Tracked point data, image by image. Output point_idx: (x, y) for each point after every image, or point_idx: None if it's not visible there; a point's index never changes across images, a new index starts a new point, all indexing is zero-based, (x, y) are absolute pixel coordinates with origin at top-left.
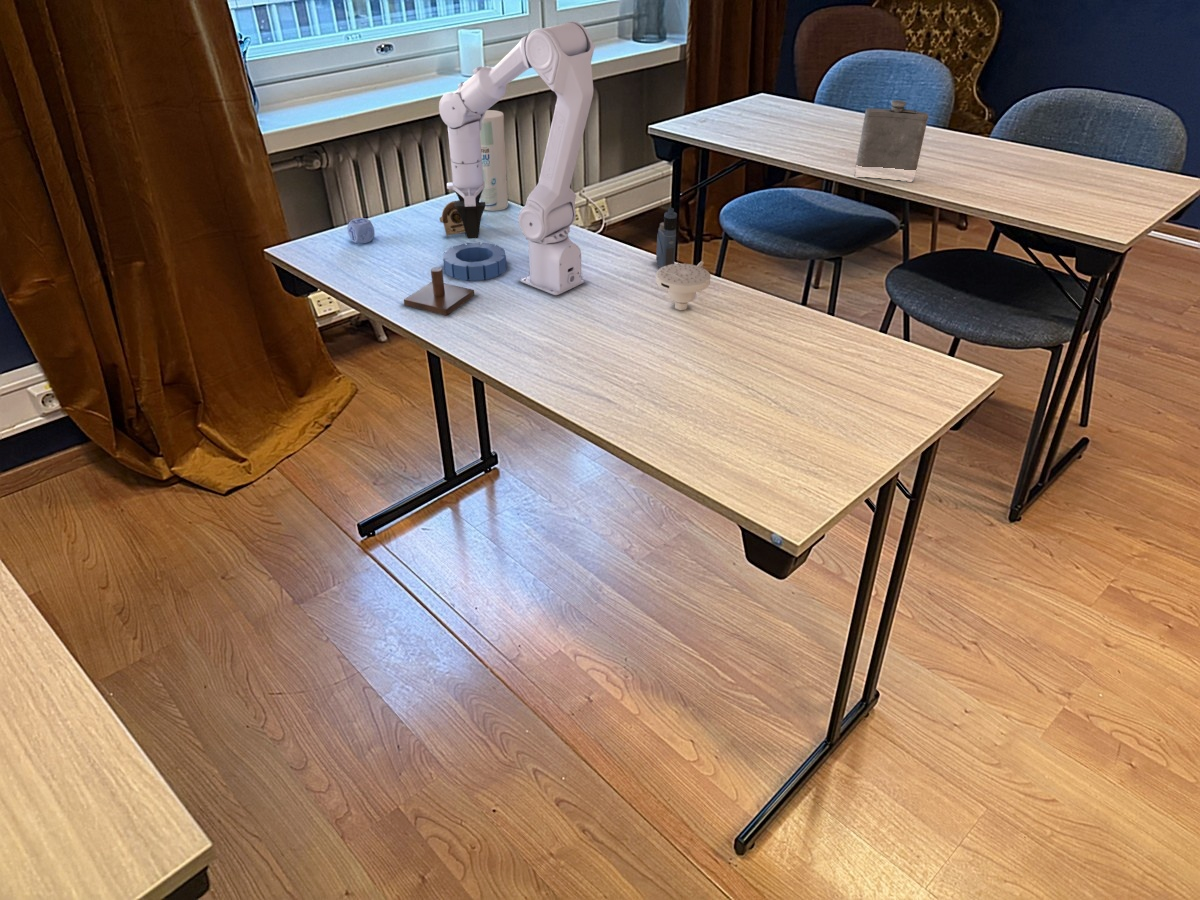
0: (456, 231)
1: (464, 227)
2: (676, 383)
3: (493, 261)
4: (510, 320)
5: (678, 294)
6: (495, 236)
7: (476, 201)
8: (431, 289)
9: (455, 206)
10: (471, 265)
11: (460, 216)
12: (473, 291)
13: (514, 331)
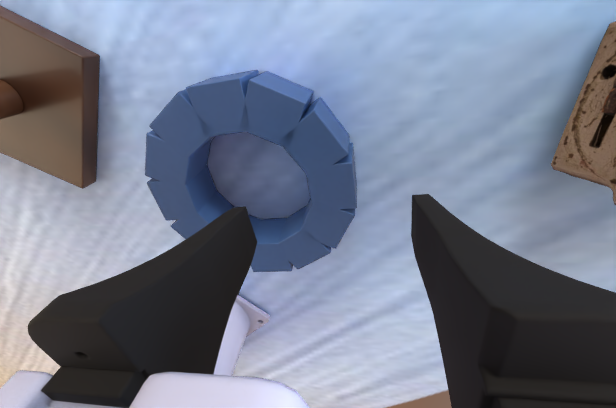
0: (592, 83)
1: (196, 233)
2: (10, 373)
3: None
4: (35, 247)
5: None
6: (526, 219)
7: (441, 332)
8: (20, 64)
9: (42, 311)
10: (160, 190)
11: (132, 269)
12: (80, 186)
13: (3, 251)
